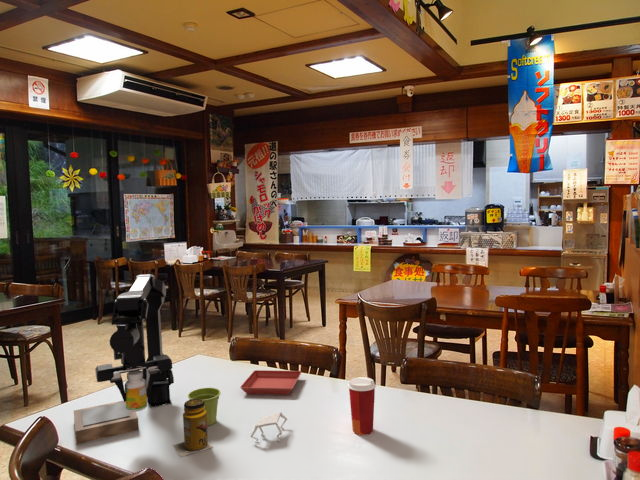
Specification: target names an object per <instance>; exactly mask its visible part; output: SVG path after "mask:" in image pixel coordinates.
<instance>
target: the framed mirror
mask: <svg viewBox="0 0 640 480" xmlns="http://www.w3.org/2000/svg"><path fill="white" fill-rule="evenodd" d="M73 420H74V421H73V423H74V424H73V425H74V431H75V433H74V434H75V442H76V443H75V445H76V446H77V445H80V444H85V443H89V442H94V441H99V440H102V439H107V438H111V437H115V436H119V435H125V434H128V433H129V434H130V433H134V432H138V431H139V429H140V428H139V417H138V415H137V412H129V411H127V410H126V402H124V400H120V401H115V402H110V403H109V402H108V403H105V404H101V405H95V406H89V407H86V408H80V409H76V410H73Z"/></svg>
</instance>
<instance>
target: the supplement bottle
mask: <svg viewBox="0 0 640 480" xmlns="http://www.w3.org/2000/svg"><path fill="white" fill-rule="evenodd" d="M142 377H143V372H142V370H138V371H132V372H126V380H127V381H126V382H125V383H124V390H125V395H126V410H127V411H129V412H136V413H137V412H140V411H143V410H145V409H147V408H148V403H147V391H146V381H145V379H143V378H142Z"/></svg>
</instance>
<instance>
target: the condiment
mask: <svg viewBox="0 0 640 480" xmlns="http://www.w3.org/2000/svg"><path fill="white" fill-rule="evenodd" d="M204 404H205V402H204V401H203V400H202V399H191V400H190V399H188V400H186V401H185V402H184V404H183V406H184V407H183V408H184V409H183V411H184V412H183V413H182V422H183V423H182V424H183V442H179V443H175V444H172V446H173V448H174V449H175V451H176V452H177V453H178V455H180V457H185V456H189V455H191V454H195V453H198V452H202V451H205V450H209V449H211V448H213V447H214V446H213V445H212V444H211V443H210V442H209V441H208V440H209V439H208V435H209V434H208V425H207V414H206V410H205V405H204Z"/></svg>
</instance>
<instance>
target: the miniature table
mask: <svg viewBox="0 0 640 480" xmlns="http://www.w3.org/2000/svg"><path fill="white" fill-rule="evenodd" d="M280 418H282V419H284V421H283V422H282V424H281V426H279V424H278V423H279V420H280ZM287 421H288V417H286V416H285V415H284V414H283V413H282V412H277V413H273V414H272V413H271V414H269V415H267V416H264V417H261V418H260V420H259V421H258V422H257V424H256V425H255V426H254V429H253V431H252V433H251V434H250V438H252V439H254V440H256V441H254V443H257V442H258V441H259V438H257V437H255V436H254V435H255V433H256V432H257V430H258V429H259V430H260V432H261V434H260V436H263V435H264V431H263V429H262V428H263V427H268V426H273V425H275V426H276V428H277V430H278V432H279V433H278V434H277V435H276V438H277V440H278V442H280V441H281V438H280V437H279V436H281V435H283V431H285V427H283V426H284V425H285V423H286V422H287ZM282 430H283V431H282Z"/></svg>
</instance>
